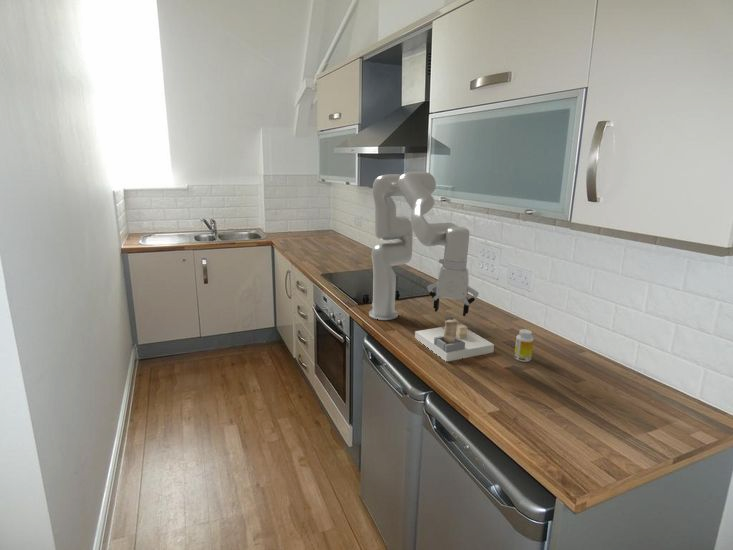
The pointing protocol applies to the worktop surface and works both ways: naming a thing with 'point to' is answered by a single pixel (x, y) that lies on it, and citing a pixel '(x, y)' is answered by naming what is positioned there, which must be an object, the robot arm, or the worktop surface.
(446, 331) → the loose leg
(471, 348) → the white board with frame
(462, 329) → the beige angular block
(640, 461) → the worktop surface
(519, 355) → the supplement bottle
